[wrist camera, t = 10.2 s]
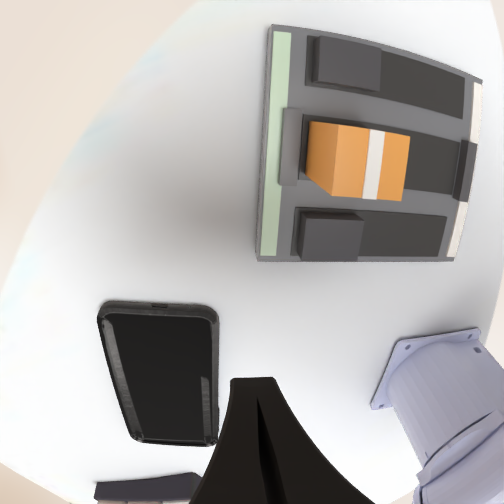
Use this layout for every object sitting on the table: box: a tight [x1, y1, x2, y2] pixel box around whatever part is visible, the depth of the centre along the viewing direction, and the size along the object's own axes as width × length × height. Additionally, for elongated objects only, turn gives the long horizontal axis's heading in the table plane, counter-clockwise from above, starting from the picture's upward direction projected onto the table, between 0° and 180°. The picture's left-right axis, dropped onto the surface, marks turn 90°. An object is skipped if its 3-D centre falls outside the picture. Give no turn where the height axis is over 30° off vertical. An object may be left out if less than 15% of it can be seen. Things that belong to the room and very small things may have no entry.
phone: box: [97, 301, 219, 447], centre depth 22 cm, size 8×1×15 cm
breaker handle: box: [305, 121, 410, 201], centre depth 13 cm, size 3×3×4 cm
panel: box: [256, 24, 483, 262], centre depth 15 cm, size 13×12×2 cm
